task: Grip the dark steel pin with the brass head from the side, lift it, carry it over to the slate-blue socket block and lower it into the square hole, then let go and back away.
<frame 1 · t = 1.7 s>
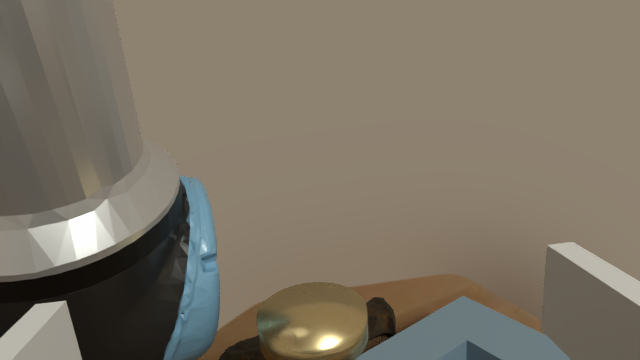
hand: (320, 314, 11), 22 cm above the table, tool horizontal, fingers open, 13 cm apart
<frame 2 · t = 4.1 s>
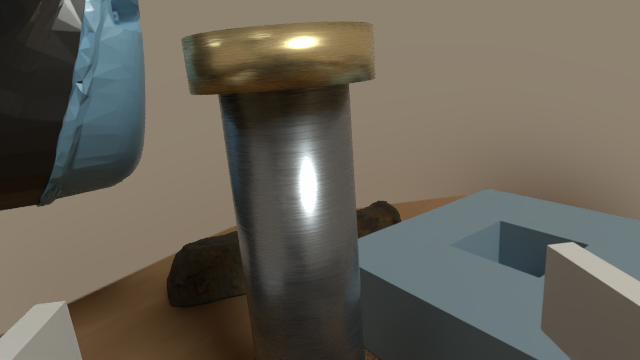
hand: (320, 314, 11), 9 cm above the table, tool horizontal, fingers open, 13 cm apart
socket block: (512, 322, 24), on the table
dark brown wooden club: (299, 277, 33), on the table
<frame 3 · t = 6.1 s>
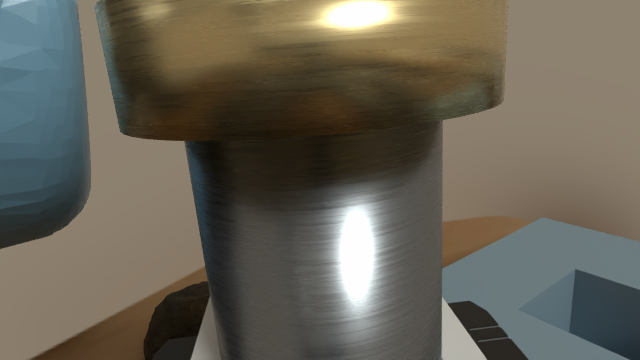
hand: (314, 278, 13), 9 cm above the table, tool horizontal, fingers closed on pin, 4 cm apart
dark brown wooden club: (310, 327, 26), on the table
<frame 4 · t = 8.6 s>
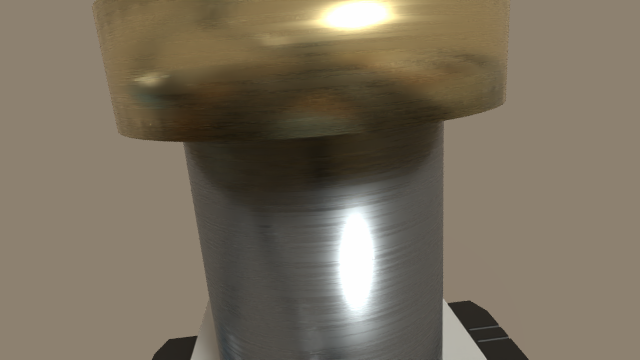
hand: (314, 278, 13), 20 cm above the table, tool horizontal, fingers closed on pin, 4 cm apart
when the fingers open (11 cm above the table, at t = 11.0 s): pin stays where it is, resting on socket block.
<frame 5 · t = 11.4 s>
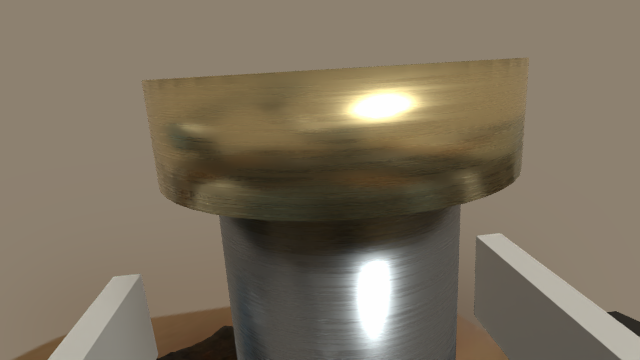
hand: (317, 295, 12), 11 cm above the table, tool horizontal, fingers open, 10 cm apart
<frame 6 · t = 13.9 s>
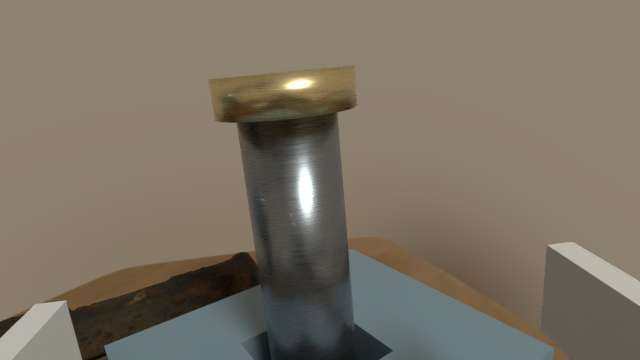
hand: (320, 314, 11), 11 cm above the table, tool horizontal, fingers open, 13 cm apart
dark brown wooden club: (139, 349, 29), on the table
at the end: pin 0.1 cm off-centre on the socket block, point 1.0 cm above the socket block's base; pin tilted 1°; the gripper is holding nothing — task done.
